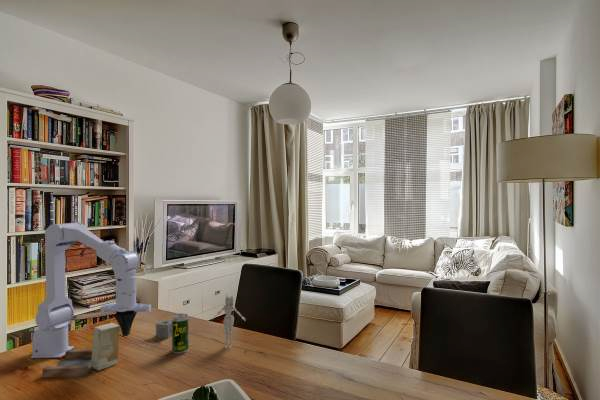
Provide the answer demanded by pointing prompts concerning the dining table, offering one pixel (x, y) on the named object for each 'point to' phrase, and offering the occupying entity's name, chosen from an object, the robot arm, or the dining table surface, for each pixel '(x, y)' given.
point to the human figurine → (229, 317)
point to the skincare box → (105, 346)
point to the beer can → (180, 333)
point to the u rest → (71, 365)
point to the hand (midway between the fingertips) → (126, 334)
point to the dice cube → (164, 329)
